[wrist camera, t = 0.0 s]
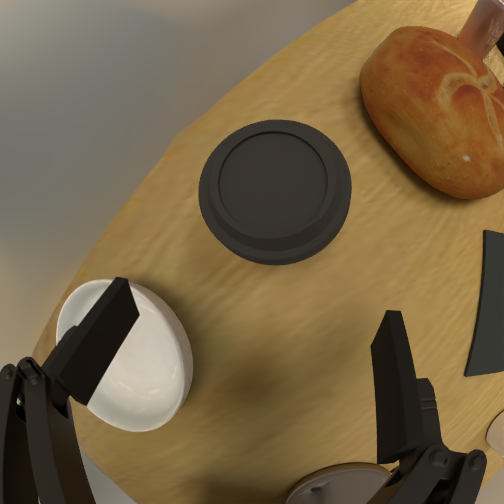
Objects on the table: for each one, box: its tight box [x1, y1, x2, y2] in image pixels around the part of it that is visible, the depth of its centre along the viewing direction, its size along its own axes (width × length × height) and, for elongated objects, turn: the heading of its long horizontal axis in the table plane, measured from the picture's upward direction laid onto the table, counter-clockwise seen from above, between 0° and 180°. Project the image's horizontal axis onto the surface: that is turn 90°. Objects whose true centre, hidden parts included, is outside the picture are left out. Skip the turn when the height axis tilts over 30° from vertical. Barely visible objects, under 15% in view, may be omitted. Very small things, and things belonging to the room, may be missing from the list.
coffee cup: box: [199, 120, 352, 265], centre depth 21 cm, size 9×9×15 cm
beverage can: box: [458, 0, 504, 60], centre depth 18 cm, size 6×6×15 cm
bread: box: [360, 26, 504, 199], centre depth 21 cm, size 23×23×10 cm
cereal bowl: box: [56, 278, 194, 432], centre depth 27 cm, size 17×17×7 cm
